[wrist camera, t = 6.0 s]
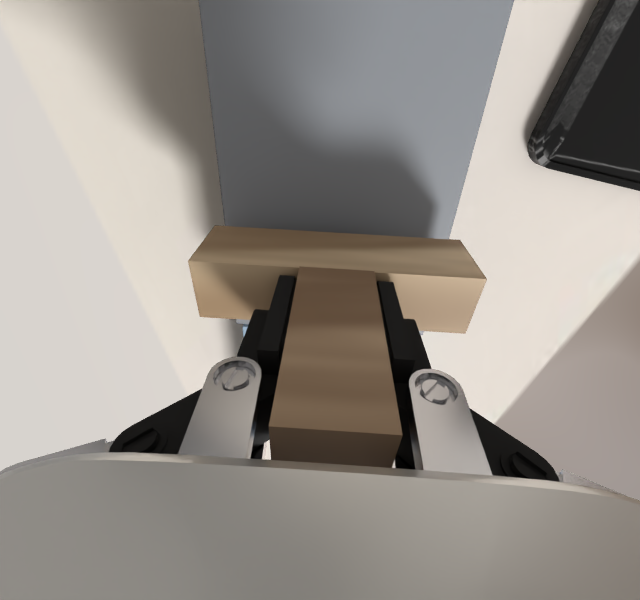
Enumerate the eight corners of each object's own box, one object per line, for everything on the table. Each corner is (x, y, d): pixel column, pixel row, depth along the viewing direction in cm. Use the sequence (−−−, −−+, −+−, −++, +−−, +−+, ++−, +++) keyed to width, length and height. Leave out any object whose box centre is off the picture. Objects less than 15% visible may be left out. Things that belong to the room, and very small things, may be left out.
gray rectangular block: (229, -9, 14) (193, -40, 10) (475, 3, 13) (520, -24, 10) (252, 285, 21) (236, 323, 18) (409, 294, 21) (422, 334, 18)
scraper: (214, 224, 14) (70, 413, 6) (460, 239, 13) (605, 448, 6) (222, 276, 15) (112, 479, 8) (444, 289, 15) (546, 509, 8)
